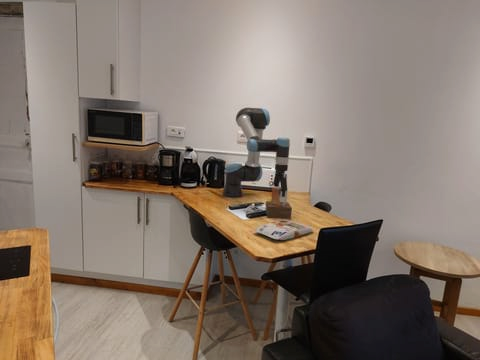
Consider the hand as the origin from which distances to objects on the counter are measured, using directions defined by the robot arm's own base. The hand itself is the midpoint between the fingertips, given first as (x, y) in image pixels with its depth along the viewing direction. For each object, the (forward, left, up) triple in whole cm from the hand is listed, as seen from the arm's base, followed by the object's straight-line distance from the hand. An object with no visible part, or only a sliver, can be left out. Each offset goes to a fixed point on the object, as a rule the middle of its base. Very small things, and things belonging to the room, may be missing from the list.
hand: (278, 199), depth 218 cm
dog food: (+33, -8, -10) cm, 36 cm away
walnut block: (0, 0, -10) cm, 10 cm away
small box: (0, 0, -3) cm, 3 cm away
